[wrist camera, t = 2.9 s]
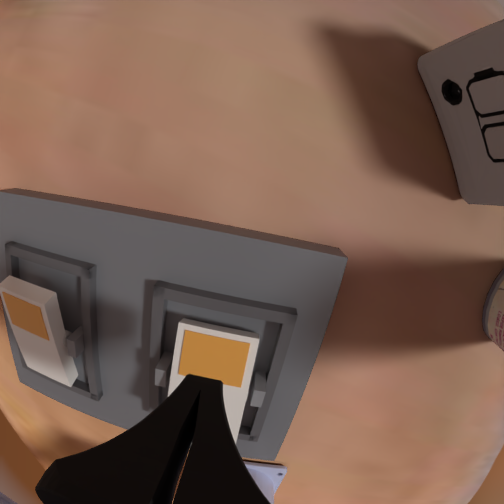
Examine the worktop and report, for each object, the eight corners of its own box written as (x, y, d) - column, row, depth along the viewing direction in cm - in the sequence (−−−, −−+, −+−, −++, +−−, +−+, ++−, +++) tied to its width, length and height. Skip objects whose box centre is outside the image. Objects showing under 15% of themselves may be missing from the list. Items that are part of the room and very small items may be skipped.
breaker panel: (274, 442, 21) (274, 478, 17) (31, 370, 20) (9, 392, 17) (338, 248, 17) (358, 268, 13) (15, 188, 16) (-22, 194, 13)
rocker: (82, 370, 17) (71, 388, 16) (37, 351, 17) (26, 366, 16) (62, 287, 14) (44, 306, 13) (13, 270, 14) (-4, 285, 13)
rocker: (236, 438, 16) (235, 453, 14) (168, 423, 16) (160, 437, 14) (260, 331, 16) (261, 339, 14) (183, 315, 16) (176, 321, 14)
